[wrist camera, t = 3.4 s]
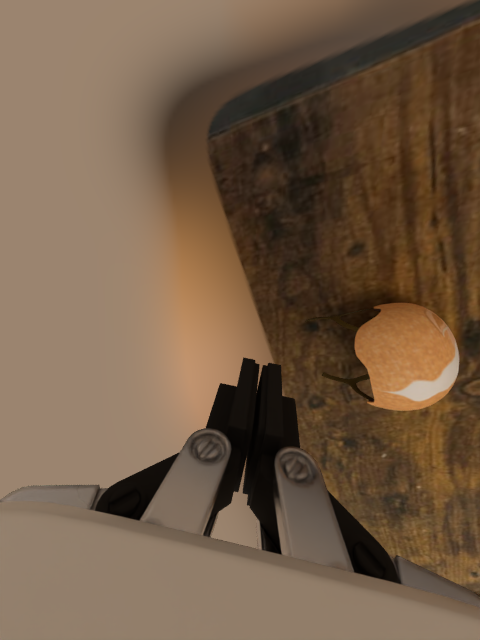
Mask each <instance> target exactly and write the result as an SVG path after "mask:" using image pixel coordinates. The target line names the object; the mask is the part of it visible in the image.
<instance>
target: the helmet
mask: <svg viewBox="0 0 480 640" xmlns="http://www.w3.org/2000/svg"><path fill="white" fill-rule="evenodd" d="M371 309H374V310H375V311H381V312H380V313H379V314H378V315H377V316H376V317H374V318H373V319H371V320H370V321H368V322H367V323H365V324H364V325H362V326H361V327H360V328H359V327H355V326H352V325H350V324H347V323H345V322H344V321H342V320H341V319H340V317H341V316H343V315H347V314H350V313H347V314H343V315H338V316H331V317H318V318H312V319H309V320H307V321H310V320H315V319H333V320H334V321H336V322H337V323H338V324H339V325H341V326H343V327H345V328H347V329H350V330H353V331H356V332H357V334H356V337H355V346H354V347H355V352H356V356H357V357H358V358H359V359H360V361H361V362H362V363H363V364H364V365H365V367H366V368H367V370H368V373H369V374H366V375H363V376H360V377H357V378H354V379H343V378H339V377H335V376H331V375H329V374H326V373H323V374H322V376H324V377H326V378H329V379H332V380H336V381H340V382H344V383H347V384H349V385H350V386H351V387H352V388H353V389H354V390H355V391H356V392H357V393H358V394H360V395H361V396H363V397H365V398H367V399H368V400H369V401H368V402H367V403H368V404H370V405H373V406H377V407H380V408H385V409H390V410H400V411H410V410H417V409H421V408H425V407H428V406H430V405H432V404H434V403H435V402H437V401H439V400H440V399H442V398H443V397H444V396H445V395H446V394H447V393H448V392H449V390H450V389H451V388H452V386H453V384H454V382H455V380H456V377H457V374H458V370H459V353H458V348H457V344H456V340H455V338H454V336H453V334H452V332H451V330H450V329H449V327H448V326H447V325H446V324H445V322H444V321H443V320H442V319H441V318H440V317H438V316H437V315H436V314H435V313H434V312H432V311H430V310H428V309H426V308H425V307H423V306H420V305H417V304H412V303H389V304H383V305H378V306H375V307H373V308H371ZM366 310H369V309H366ZM361 311H363V310H361ZM356 312H359V311H356ZM352 313H354V312H352ZM305 322H306V321H305ZM367 379H370V381H371V386H372V391H373V394H374V399H373V398H371V397H369V396H368V395H366V394H364V393H363V392H361V391H360V390H359V389H358V387H357V385H356V383H358V382H359V381H363V380H367Z"/></svg>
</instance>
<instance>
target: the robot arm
mask: <svg viewBox="0 0 480 640" xmlns="http://www.w3.org/2000/svg"><path fill="white" fill-rule="evenodd" d="M258 374H259V364H256V363H255V360H253V359H248V358H243V362H242V366H241V371H240V376H239V380H238V385H237V387H236V386H231V385H226V384H222V383H221V384H220V385H219V388H218V392H217V395H216V398H215V401H214V404H213V407H212V410H211V413H210V416H209V420H208V422H207V426H206V429H201V430H198V431H196V432H194V433H193V434H192V435H191V436H190V437H189V438H188V440H187V441H186V443H185V445H184V446H183V448H182V450H181V451H180V453H177V454H175V455H173V456H171V457H169V458H167V459H165V460H163V461H161V462H159V463H156V464H155V465H152V466H150V467H148V468H146V469H144V470H142V471H140V472H138V473H136V474H134V475H132V476H130V477H128V478H125V479H123V480H121V481H119V482H117V483H116V484H114V485H112V486H111V487H109V488H105V489H100V487H99V485H46V486H28V487H22V488H20V489H17V490H15V491H13V492H11V493H9V494H8V495H6V496H5V497H4V498H2V499H1V500H0V640H480V596H478V595H477V594H475V593H474V592H472V591H470V590H468V589H466V588H464V587H462V586H460V585H458V584H456V583H454V582H452V581H450V580H448V579H446V578H444V577H441V576H439V575H437V574H435V573H433V572H431V571H429V570H427V569H425V568H423V567H421V566H419V565H417V564H414V563H412V562H410V561H408V560H406V559H404V558H402V557H400V556H398V555H397V556H396V557H395V558H393V557H391V556H389V555H388V553H387V552H386V551H385V549H384V548H383V547H382V546H381V545H380V543H379V542H378V541H377V540H376V539H375V538H374V537H373V536H372V535H371V534H370V533H369V532H368V531H367V530H366V529H365V528H364V527H363V526H362V525H361V524H360V523H359V522H358V521H357V520H356V519H355V518H354V517H353V516H352V515H351V514H350V513H349V512H348V511H347V510H346V509H345V508H344V507H343V506H342V505H341V504H340V503H339V502H338V501H337V500H336V499H335V498H334V497H333V496H332V495H331V494H330V493H329V491H328V490H327V488H326V485H325V482H324V479H323V476H322V473H321V470H320V467H319V465H318V463H317V461H316V460H315V459H314V458H313V456H312V455H310V454H309V453H308V452H307V451H305V450H303V449H301V448H300V442H299V433H298V423H297V414H296V404H295V399H294V398H289V397H284V396H282V378H281V365H277V364H272V363H268V366H266V365H263V368H262V372H261V376H260V381H259V385H258V390H257V384H258ZM246 457H247V460H246ZM245 461H246V468H245V477H244V485H243V493H244V494H248V501H247V505H249V506H250V508H251V510H252V511H253V513H254V514H255V516H256V517H257V523H256V528H257V529H256V530H257V544H258V549H256V548H252V547H248V546H243V545H239V544H235V543H231V542H227V541H223V540H218V539H214V538H211V535H212V532H213V530H214V526H215V523H216V520H217V517H218V513H219V511H220V510H222V509H223V508H224V507H226V506H227V505H229V504H230V503H231V501H232V496H233V492H234V491H235V492H238V491H239V487H240V482H241V478H242V474H243V469H244V465H245Z"/></svg>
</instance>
